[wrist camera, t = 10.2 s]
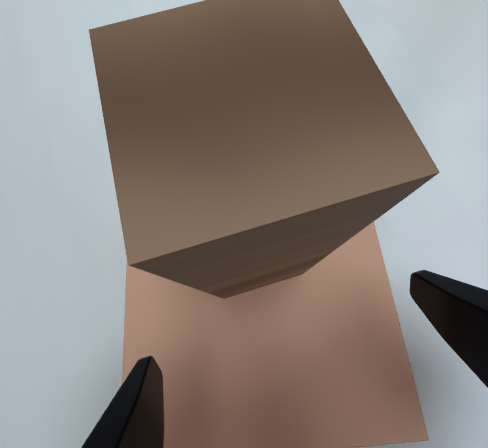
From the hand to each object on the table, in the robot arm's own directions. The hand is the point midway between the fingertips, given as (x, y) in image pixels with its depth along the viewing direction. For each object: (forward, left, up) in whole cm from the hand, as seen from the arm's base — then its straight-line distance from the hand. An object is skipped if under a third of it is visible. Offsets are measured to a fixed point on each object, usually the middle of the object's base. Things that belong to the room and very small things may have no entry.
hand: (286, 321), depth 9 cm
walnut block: (+4, +1, -7) cm, 8 cm away
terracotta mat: (+1, +1, -8) cm, 8 cm away
